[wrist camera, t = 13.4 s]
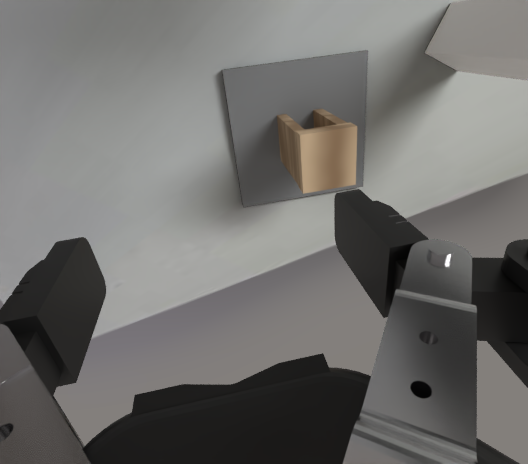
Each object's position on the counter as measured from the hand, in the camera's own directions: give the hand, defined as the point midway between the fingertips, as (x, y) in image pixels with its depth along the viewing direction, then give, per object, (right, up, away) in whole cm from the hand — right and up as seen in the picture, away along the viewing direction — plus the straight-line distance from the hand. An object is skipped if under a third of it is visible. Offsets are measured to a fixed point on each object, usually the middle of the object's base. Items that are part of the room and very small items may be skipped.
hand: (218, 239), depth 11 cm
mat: (+6, +13, +36) cm, 39 cm away
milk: (+26, +25, +33) cm, 49 cm away
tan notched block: (+6, +13, +35) cm, 38 cm away
